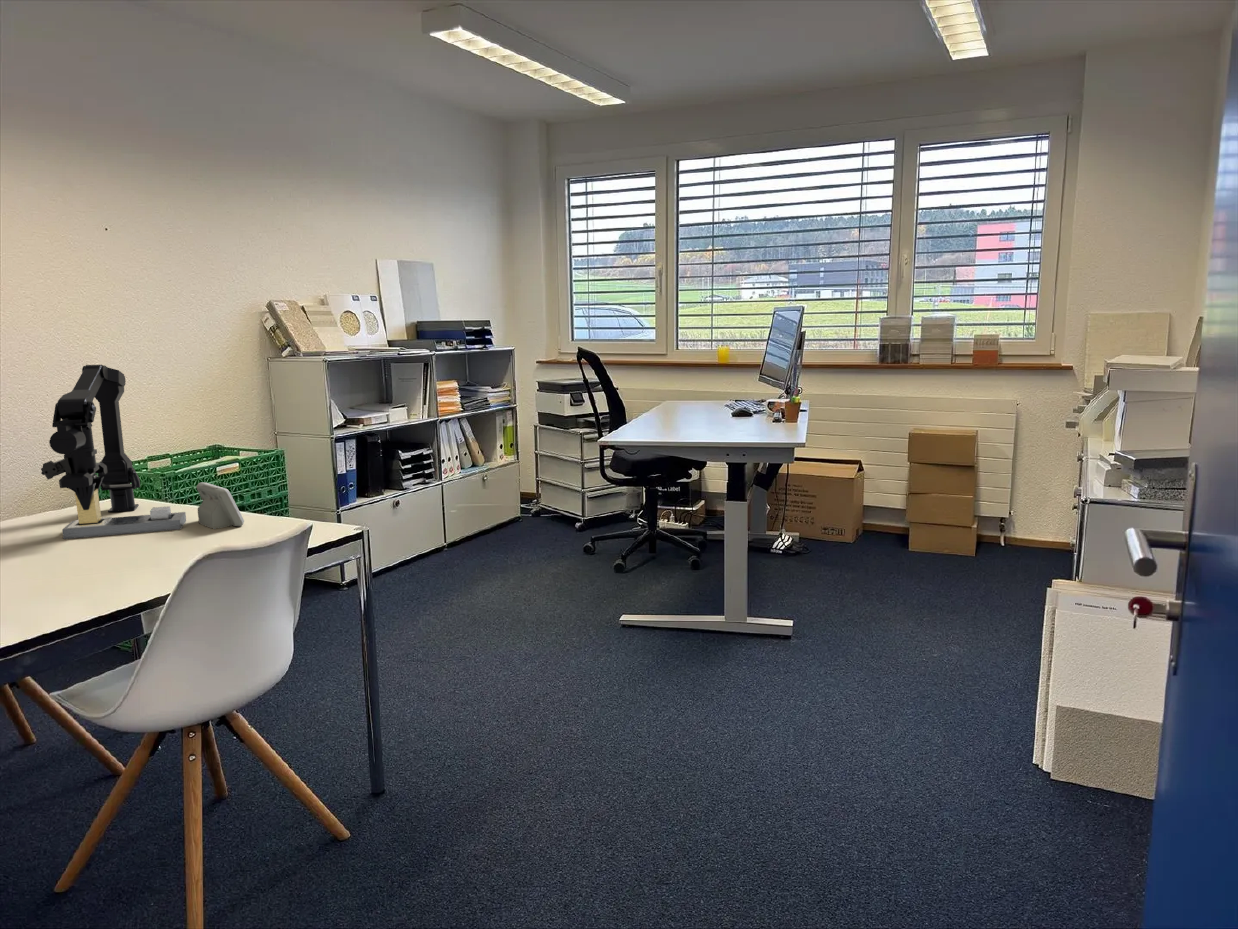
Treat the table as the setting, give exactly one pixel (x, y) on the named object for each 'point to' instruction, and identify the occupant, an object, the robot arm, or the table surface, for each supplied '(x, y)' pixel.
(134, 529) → the rail
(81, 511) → the brass peg
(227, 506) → the digital clock
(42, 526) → the table surface
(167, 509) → the steel peg
